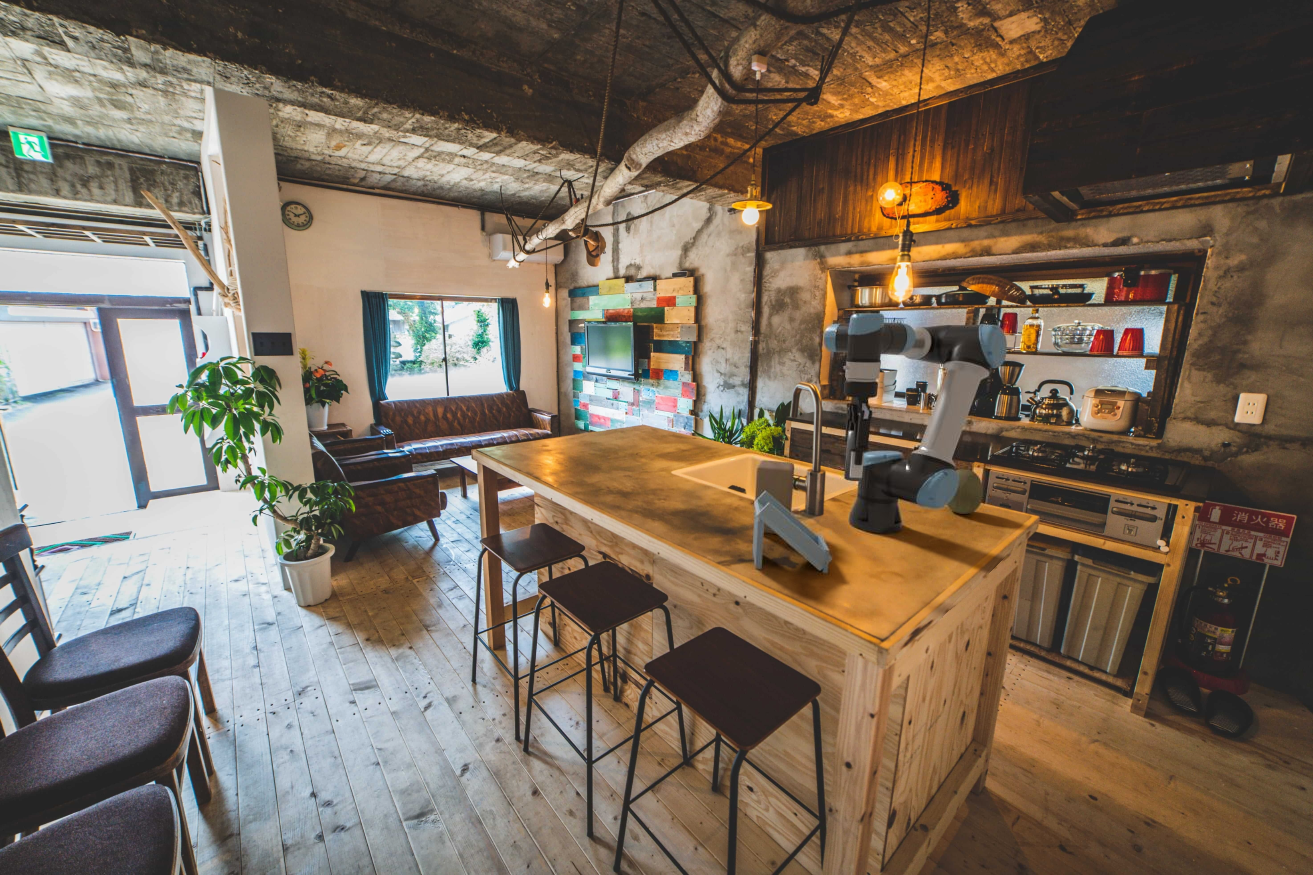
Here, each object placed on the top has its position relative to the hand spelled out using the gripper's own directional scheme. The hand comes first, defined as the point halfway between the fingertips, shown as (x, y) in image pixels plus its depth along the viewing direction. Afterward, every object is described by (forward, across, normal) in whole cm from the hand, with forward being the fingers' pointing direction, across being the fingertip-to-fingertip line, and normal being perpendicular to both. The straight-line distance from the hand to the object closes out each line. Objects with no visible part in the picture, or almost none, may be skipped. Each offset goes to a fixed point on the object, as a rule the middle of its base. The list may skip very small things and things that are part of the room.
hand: (853, 474), depth 126 cm
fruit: (+24, -46, +48) cm, 70 cm away
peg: (+1, 0, 0) cm, 1 cm away
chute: (+24, +1, -14) cm, 28 cm away
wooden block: (+24, -22, -16) cm, 36 cm away
